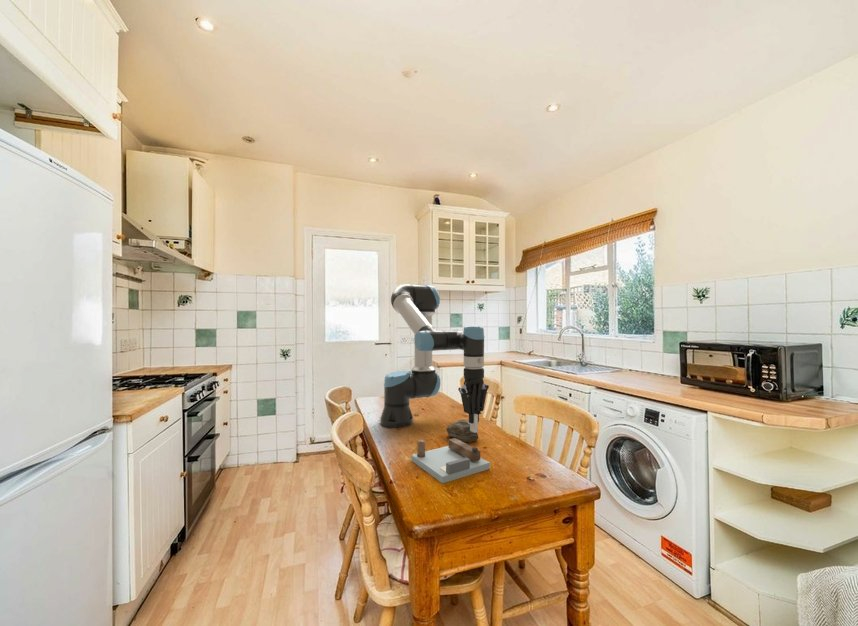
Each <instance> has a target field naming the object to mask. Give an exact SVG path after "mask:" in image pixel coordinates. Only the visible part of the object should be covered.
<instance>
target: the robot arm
mask: <svg viewBox="0 0 858 626" xmlns="http://www.w3.org/2000/svg"><path fill="white" fill-rule="evenodd" d="M440 299H441V298H440V293H439V291H438V290H437V288H436V287H435V286H433V285H428V284H406V283H405V284H401V285H399V286H397V287H396V288H395V289H394V290H393V292H392V294H391V297H390V303H391V306H392V309H393V310H394V311H395V312H396V313H398V314H400V316H401V317H402V319H403V320H404V321H405V322H406V324H407V326H408V327H409V328H410V330H411V331H412V333H413V334H414V339H413V340H414V343H413V344H414V366H413V367H412V368H411V373H410V371H407V370H395V371H392V372H389V373H388V374H387V373H386V375H385V377H384V383H383V388H384V389H383V391H384V393H383V394H384V395H383V396H384V397H383V401H384V402H383V403H384V404H383V405H384V406H383V409H382V411H381V414H380V418H379V419H380V421H379V423H380V425H381V426H383V427H385V428H386V427H387V428H392V429H395V428H396V429H397V428H406V427H409V426H411V425H413V423H414V416H413V414H412V411H411V410H412V409H411V407H410V400H412V399H421V398H422V399H423V398H429V397H434V396H436V395H437V394H438V393H439V391H440V388H441V377H440V374H439V373H438V372H436V368H435V367H434V366H433V351H455V350H456V351H458V350H460V351H461V350H462V351H463V378H464V381H463V386H461V387H459V386H458V389H457V390H458V391H459V393H460V397H461V403H462V408H463V412H464V413H466V414H468V420H469V423H470V431H472V432H474V433H476V432H477V433H478V431H479V422H480V415H481V414H482V412H484V410H485V409H484V408H485V405H486V397H487V393H488V390H489V387H490V386H489V385H488V384H486V383H485V381H484V378H485V369H484V366H485V332H484V327H483V326H481V325H465V326H464V327H463V330H459V329H451V330H437V329H435V328H434V327H433V315H434V314H435V313H436V310H437V309H438V308H439V306H440V304H441V303H440Z"/></svg>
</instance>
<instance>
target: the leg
mask: <svg viewBox="0 0 858 626" xmlns="http://www.w3.org/2000/svg"><path fill="white" fill-rule="evenodd" d="M447 446H448V448H450V449H451V450H453V451H455V452H457V453H458V454H460V455H462V456H464V457H465V458H466V457H467V458H469V459H470V460H471V461H472V462H475V461H479V460H480V458H481V450H479V449H478V447H477V446H472V445H469V444H468V443H467V442H464V441H462V440H459V439H456V438H453V437H452V438H449V439H448V445H447Z"/></svg>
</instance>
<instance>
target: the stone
mask: <svg viewBox="0 0 858 626" xmlns="http://www.w3.org/2000/svg"><path fill="white" fill-rule="evenodd" d="M445 429H446V432H447V435H448V436H450V437H451V438H452V439H453V438H456V439H458V440H460V441H462V442H464V443H472V442H474V441H475V442H476V441H477V440H478V439H479V433H478V432H476V433H474V432H472V431H470V423H469V419H459V420H457V421H455V422H452V423H451V424H448V425H447V426H446V428H445Z"/></svg>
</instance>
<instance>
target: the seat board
mask: <svg viewBox="0 0 858 626" xmlns="http://www.w3.org/2000/svg"><path fill="white" fill-rule="evenodd" d="M416 442H417V443H416V444H417V445H416V446H417V447H416V448H417V449H416V453H414V454H411V455H410V457H411V460H410V461H411V462H413V463H414V464H415V465H417V466H418V467H419V468H421V469H422V470H423V471H425V472H426V473H427V474H429V475H430V476H432V477H433V478H434V479H436V480H437V481H438V482H439V483H441V484H446V483H448V482H451V481H455V480H458V479H461V478H465V477H468V476H471V475H474V474H478V473H481V472H483V471H487V470H490V469H491V462H490V461H488V460H486V459H484V458H482V457H480V460H479V461H475V462H472V461H471V460H470V459H469V458H467V457H466V458H465V457H464V456H462V455H460V454H458V453H457V452H455V451H453V450H451V449H450V448H448V446H449V445H446V446H442V447H439V448H434V449H430V450H426V440H424V439H418V440H417V441H416Z"/></svg>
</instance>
